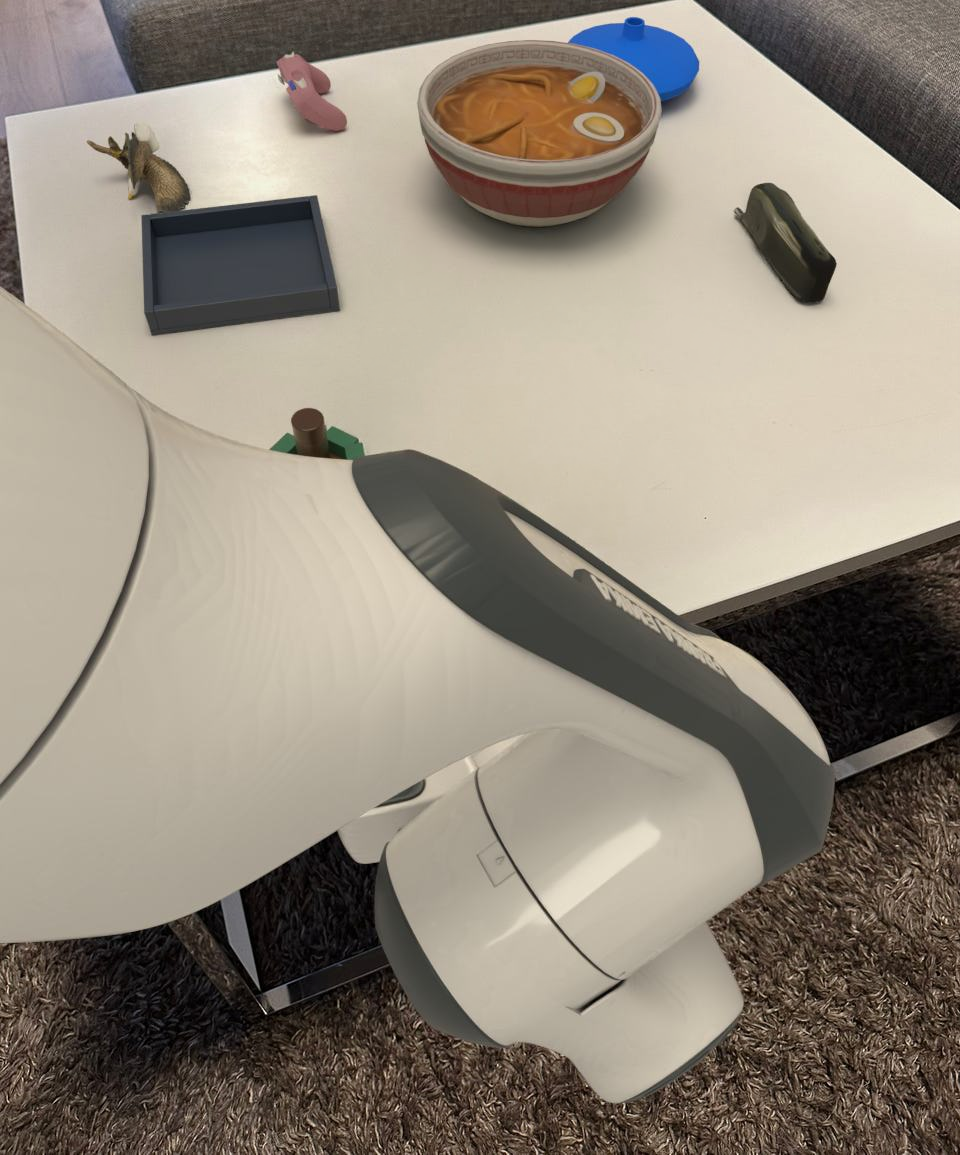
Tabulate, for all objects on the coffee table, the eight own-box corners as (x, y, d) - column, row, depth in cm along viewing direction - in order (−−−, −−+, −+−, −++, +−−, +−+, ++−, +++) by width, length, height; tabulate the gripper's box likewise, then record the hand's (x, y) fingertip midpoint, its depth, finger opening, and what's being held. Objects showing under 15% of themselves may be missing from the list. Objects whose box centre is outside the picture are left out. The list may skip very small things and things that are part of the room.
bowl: (669, 158, 102) (686, 62, 93) (612, 285, 89) (627, 186, 81) (467, 117, 106) (467, 22, 98) (385, 232, 93) (378, 133, 85)
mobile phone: (846, 259, 84) (767, 164, 92) (815, 265, 83) (738, 168, 91) (827, 304, 88) (753, 209, 96) (798, 310, 87) (726, 214, 95)
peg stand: (277, 619, 66) (238, 484, 55) (265, 521, 72) (227, 379, 60) (404, 596, 68) (392, 460, 56) (384, 502, 73) (369, 360, 62)
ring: (272, 519, 60) (269, 506, 59) (263, 446, 64) (260, 433, 63) (373, 503, 61) (372, 490, 60) (359, 432, 65) (357, 419, 64)
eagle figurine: (80, 183, 95) (122, 206, 90) (90, 107, 93) (135, 126, 88) (150, 199, 101) (194, 221, 96) (162, 128, 98) (208, 146, 93)
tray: (151, 335, 84) (143, 312, 82) (148, 237, 92) (141, 214, 90) (340, 310, 86) (337, 287, 84) (320, 217, 94) (316, 194, 92)
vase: (606, 135, 104) (614, 69, 98) (532, 72, 112) (536, 7, 106) (722, 101, 109) (736, 36, 103) (643, 42, 117) (652, -21, 111)
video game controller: (299, 106, 110) (263, 53, 104) (332, 83, 109) (297, 29, 103) (317, 151, 104) (279, 98, 99) (352, 127, 103) (316, 72, 98)
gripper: (675, 648, 50) (538, 475, 57) (311, 831, 44) (208, 611, 51) (656, 707, 55) (532, 541, 62) (327, 878, 49) (231, 672, 56)
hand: (383, 574), depth 56 cm, fingers open, 8 cm apart
